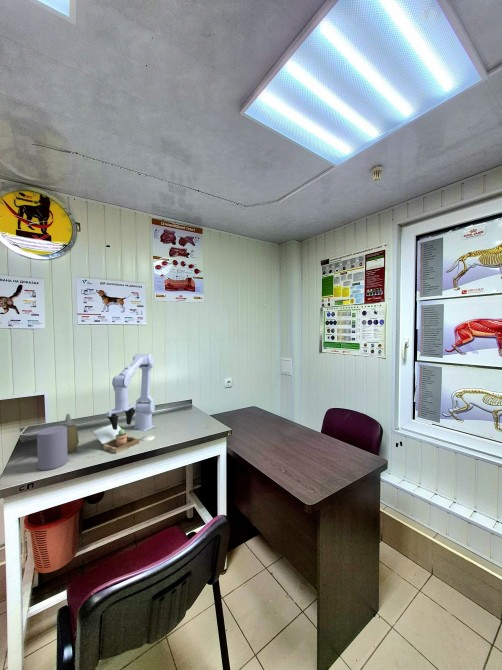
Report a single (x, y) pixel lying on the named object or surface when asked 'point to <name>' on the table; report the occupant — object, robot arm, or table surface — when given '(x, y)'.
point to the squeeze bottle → (71, 434)
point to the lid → (106, 433)
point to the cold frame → (113, 448)
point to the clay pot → (121, 438)
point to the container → (52, 447)
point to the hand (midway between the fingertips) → (122, 426)
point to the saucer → (148, 438)
